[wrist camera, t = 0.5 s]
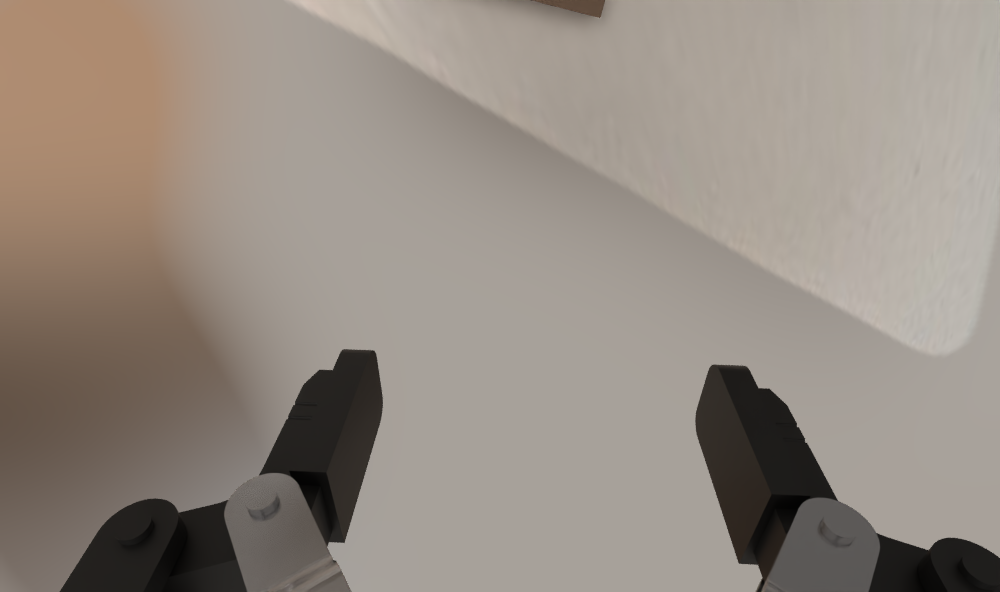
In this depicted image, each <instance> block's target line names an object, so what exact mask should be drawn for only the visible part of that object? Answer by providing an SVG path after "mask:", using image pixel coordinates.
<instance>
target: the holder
mask: <svg viewBox="0 0 1000 592" xmlns="http://www.w3.org/2000/svg"><path fill="white" fill-rule="evenodd" d="M532 1H536V2H540V3H544V4H548V5H552V6H556V7H559V8H563V9H567V10H571V11H575V12H579V13H583V14H587V15H591V16H595V17H599V18H600V17H601V13H602V10H603V6H604V2H605V0H532Z"/></svg>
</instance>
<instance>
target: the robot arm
mask: <svg viewBox="0 0 1000 592" xmlns="http://www.w3.org/2000/svg"><path fill="white" fill-rule="evenodd" d="M382 408H383V397H382V390H381V383H380V377H379V370H378V363H377V357H376V353H375V351H373V350H372V351H371V350H348V349H344V350H342V351H341V353H340V355H339V357H338V359H337V362H336V364H335V366H334V369H333V370H319V371H318V372H317V373H316V374H314V376H312V377H311V378H310V379H309V380H308V381H307V382H306V383H305V384H304V385H303V387H302V389H301V391H300V393H299V395H298V397H297V399H296V401H295V405H293V407H292V410H291V412H290V413H289V416H288V419H287V420H286V422H285V424H284V426H283V428H282V430H281V432H280V434H279V436H278V438H277V440H276V442H275V444H274V446H273V448H272V451H271V453H270V455H269V457H268V459H267V461H266V463H265V465H264V467H263V469H262V471H261V473H260V474H259V476H257V477H254V478H252V479H250V480H248V481H247V482H245V483H244V484H242V485H241V486H240V487H239V488H238V489H236V491H235V492H234V493H233V494H232V495H231V497H230V498H229V500H226V501H224V502H221V503H218V504H214V505H210V506H205V507H201V508H197V509H193V510H189V511H185V512H180V513H178V511H177V509H176V507H175V506H174V505H173V504H172V503H171V502H169V501H167V500H163V499H147V500H143V501H139V502H136V503H133V504H132V505H129V506H127V507H125V508H123V509H122V510H120V511H118V512H117V513H116V514H114V515H113V516H112V517H111V518H110V519H108V520H107V521H106V522H105V524H104V525H103V526H102V527H101V528H100V530H99V531H98V533H97V534H96V536H95V537H94V539H93V540H92V542H91V544H90V545H89V547H88V548H87V550H86V551H85V553H84V554H83V556H82V558H81V559H80V561H79V563H78V564H77V565H76V567H75V569H74V570H73V572H72V573H71V575H70V576H69V578H68V580H67V581H66V583H65V584H64V586H63V587H62V589H61V591H60V592H351V590H350V588H349V586H348V583H347V581H346V579H345V577H344V575H343V573H342V571H341V569H340V567H339V565H338V564H337V562H336V561H334V560H333V558H332V556H331V554H330V552H329V550H328V548H327V546H328V543H329V542H341V543H344V542H345V539H346V536H347V532H348V529H349V526H350V522H351V519H352V516H353V512H354V509H355V505H356V502H357V499H358V495H359V492H360V489H361V485H362V482H363V479H364V475H365V472H366V468H367V465H368V462H369V458H370V455H371V452H372V448H373V444H374V441H375V438H376V435H377V431H378V428H379V425H380V421H381V416H382ZM696 432H697V436H698V440H699V443H700V446H701V449H702V452H703V455H704V458H705V461H706V464H707V467H708V470H709V473H710V476H711V479H712V483H713V486H714V489H715V492H716V495H717V498H718V501H719V504H720V507H721V510H722V513H723V516H724V519H725V522H726V525H727V529H728V532H729V535H730V538H731V541H732V544H733V547H734V550H735V553H736V556H737V559H738V562H739V564H756V565H758V566H759V569H760V571H761V574H762V577H763V578H762V579H761V582H760V583H759V585H758V588H757V590H756V592H1000V558H999V557H998V556H996V555H995V554H994V553H992V552H990V551H989V550H987V549H985V548H983V547H981V546H979V545H977V544H975V543H972V542H970V541H967V540H963V539H958V538H944V539H941V540H938V541H937V542H935V543H934V544H933V546H932V547H931V548H930V549H929V550H925V549H922V548H919V547H916V546H913V545H910V544H907V543H903V542H900V541H897V540H894V539H891V538H888V537H885V536H882V535H880V534H878V533H876V532H875V530H874V529H873V527H872V526H871V524H870V523H869V522H868V521H867V520H866V519H865V518H864V517H863V516H862V515H861V514H859V513H858V512H857V511H856V510H854V509H853V508H851V507H849V506H848V505H846V504H843V503H841V502H839V501H838V500H837V498H836V496H835V495H834V493H833V491H832V489H831V487H830V485H829V483H828V481H827V480H826V478H825V476H824V474H823V472H822V470H821V468H820V466H819V464H818V463H817V461H816V459H815V457H814V455H813V453H812V451H811V449H810V448H809V446H808V444H807V443H805V438H804V436H803V435H802V433H801V431H800V429H799V427H797V423H796V421H795V419H794V417H793V416H792V414H791V412H790V410H789V408H788V406H787V405H786V404H785V403H784V402H783V401H782V400H781V399H780V398H779V397H778V396H776V394H774V393H773V392H772V391H771V390H770V389H762V388H758V386H757V385H756V382H755V381H754V379H753V376H752V375H751V372H750V370H749V369H748V368H747V367H746V366H735V365H712V366H711V367H710V368H709V371H708V374H707V377H706V380H705V384H704V387H703V390H702V394H701V397H700V401H699V404H698V407H697V411H696Z"/></svg>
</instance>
